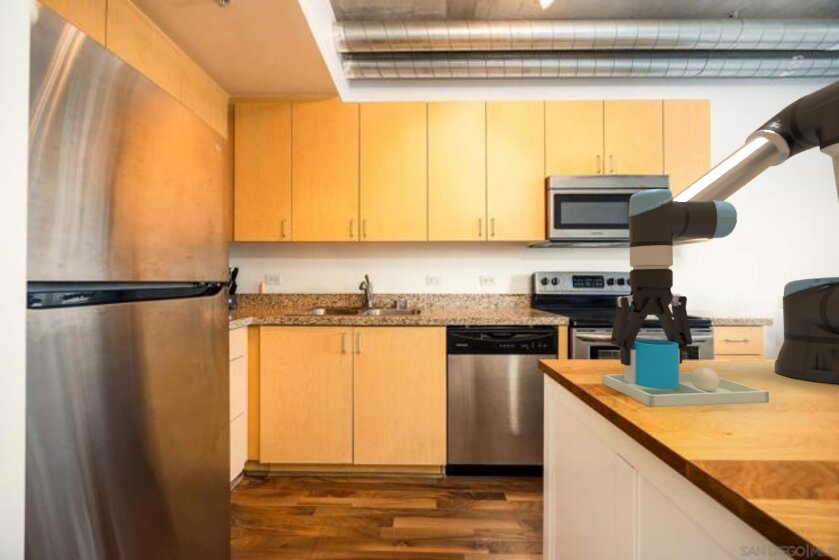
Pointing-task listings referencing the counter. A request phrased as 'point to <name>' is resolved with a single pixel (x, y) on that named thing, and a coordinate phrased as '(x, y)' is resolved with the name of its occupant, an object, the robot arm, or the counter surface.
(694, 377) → the egg
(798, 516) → the counter surface
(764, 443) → the counter surface
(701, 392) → the grey-green flat rectangular tray
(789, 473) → the counter surface
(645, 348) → the mug
